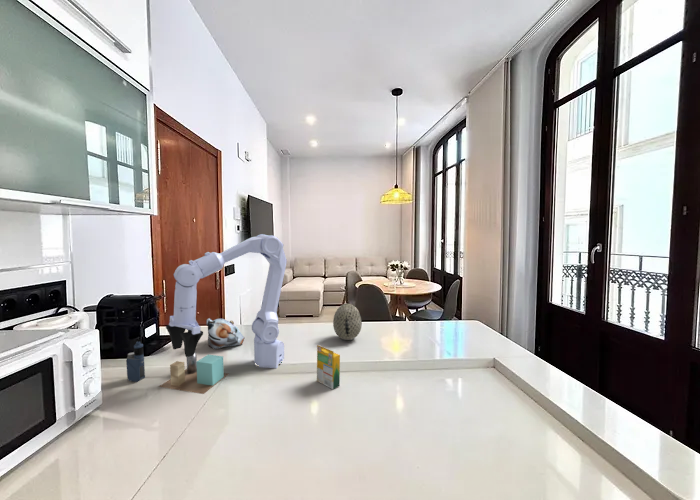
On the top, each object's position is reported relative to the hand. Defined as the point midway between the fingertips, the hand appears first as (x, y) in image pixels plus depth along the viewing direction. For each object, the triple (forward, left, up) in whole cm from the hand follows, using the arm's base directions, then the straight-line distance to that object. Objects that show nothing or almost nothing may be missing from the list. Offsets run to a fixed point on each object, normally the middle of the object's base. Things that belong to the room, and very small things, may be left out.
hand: (183, 352), depth 94 cm
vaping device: (+17, +1, -11) cm, 20 cm away
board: (-2, -2, -10) cm, 11 cm away
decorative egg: (-37, -48, -11) cm, 62 cm away
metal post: (+3, -6, -10) cm, 12 cm away
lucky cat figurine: (+6, -29, -11) cm, 32 cm away
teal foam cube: (-6, -3, -9) cm, 12 cm away
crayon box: (-40, -12, -11) cm, 44 cm away
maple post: (+2, +1, -10) cm, 11 cm away
